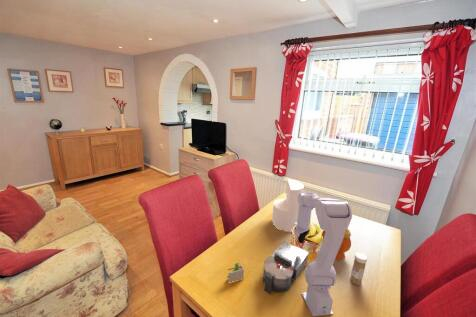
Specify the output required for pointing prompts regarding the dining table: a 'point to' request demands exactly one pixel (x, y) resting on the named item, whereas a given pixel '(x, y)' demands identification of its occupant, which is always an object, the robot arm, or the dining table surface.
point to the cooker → (298, 262)
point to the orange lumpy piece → (343, 245)
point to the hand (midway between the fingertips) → (300, 242)
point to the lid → (279, 266)
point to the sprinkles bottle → (358, 268)
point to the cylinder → (287, 207)
